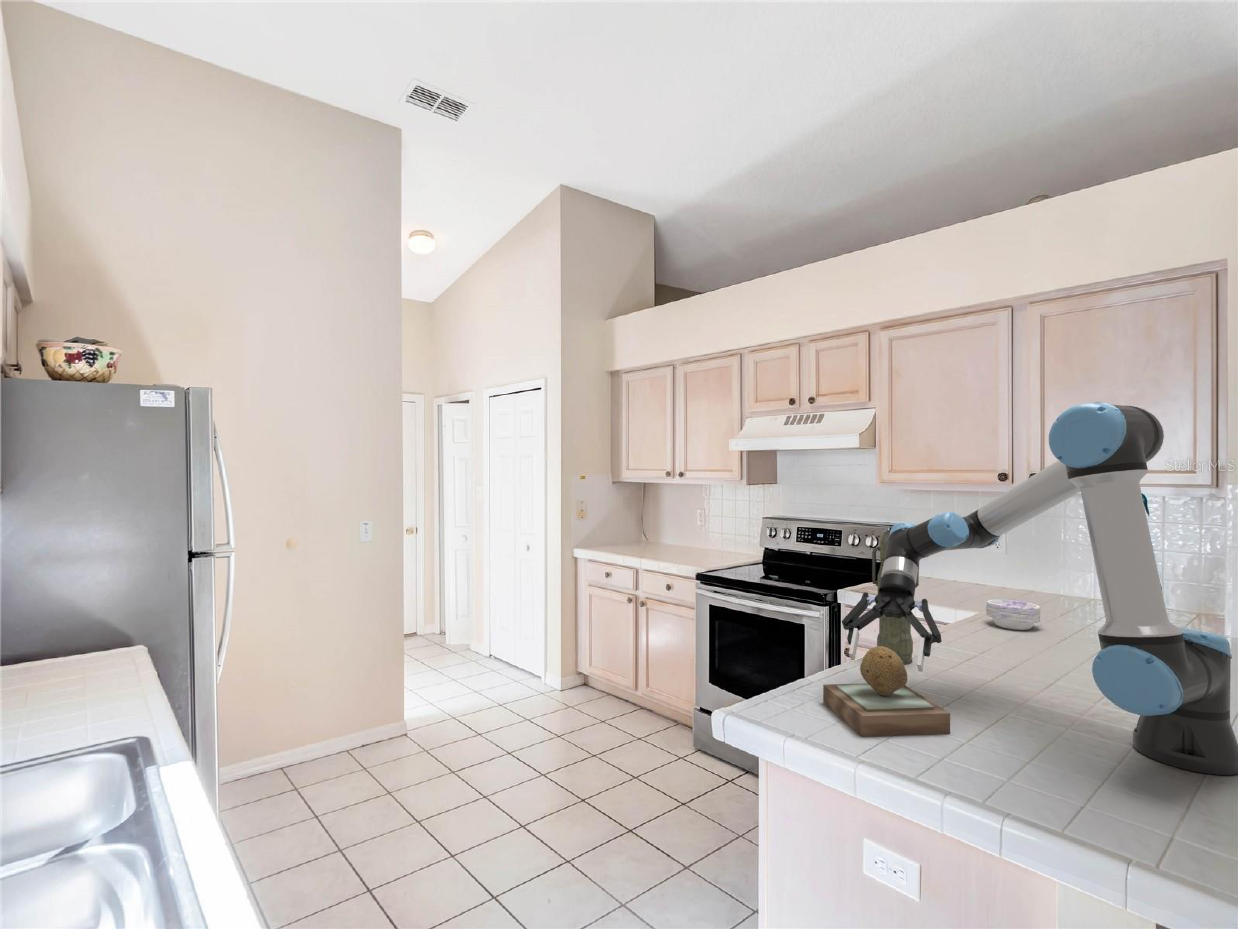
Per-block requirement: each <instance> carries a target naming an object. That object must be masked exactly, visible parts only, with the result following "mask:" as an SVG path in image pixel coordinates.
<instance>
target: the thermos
mask: <svg viewBox="0 0 1238 929" xmlns="http://www.w3.org/2000/svg"><path fill="white" fill-rule="evenodd" d="M890 530H891V529H889V530H888V529H887V530H885V531H883V532H882V536H881V538H880V540H879V541H880V542H879V546H876V547H875V548H874V549H872V553H871V572H872V573H871V574H872V575H871V577H872V578H871V579H872V580H871V581H872V585H875V586H876V587H877V592H878V591H879V586H880V580H881V575H882V570H883V565H884V559H885V554H886V548H887V539H888V537H889V534H890ZM877 551H878V552H880V553H879V554H880V555H879V559H880V564H879V570H878V573H877ZM918 566H919V567H918V573H917V580H916V584H915V585H916V587H915V589H916V588H918V587H919V586H920V584H919V583H920V582H919V581H920V580H919V578H920V577H919V576H920V564H919V565H918ZM876 576H877V577H876ZM878 620H879V622H878V625H879V626H878V628H879V629H878V634H877V637H876V647H877V646H883V647H887V648H889V649H891V650H892V651H894V652H895V653H896V654H897V655H898V656H899V657H900V658H901V660H902V662H903V664H904V666H905V665H906V664H907V665H910V664H912V663H913V652H914V641H913V636H912V631H911V630H912V629H911V628H912V625H911V624H910V623H909V622H908V621H907V620H906V619H905V617H901V619H900V618H895V617H886V616H885V615H883V616H882V617H880V618H878Z"/></svg>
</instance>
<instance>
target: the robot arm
mask: <svg viewBox="0 0 1238 929" xmlns="http://www.w3.org/2000/svg"><path fill="white" fill-rule="evenodd" d="M1164 439H1165V433H1164V429H1163V425H1162V424H1161V422H1160V420H1159V419H1158V418H1157V417H1156V416H1155V415H1154V414H1153V413H1152V412H1149V411H1148V410H1146V409H1144V408H1141V407H1138V406H1134V405H1119V404H1112V403H1111V404H1110V403H1107V402H1101V401H1096V402H1088V403H1087V402H1086V403H1080V404H1076V405H1073V406H1071V407H1069V408H1068V409H1065V410H1064V411H1063V412H1061V414H1059V415H1058V416H1057V418H1056V419H1055V420H1054V422H1053V423H1052V424H1051V427H1050V429H1049V434H1048V446H1049V449H1050V451H1051V453H1052V455H1053V456H1054V457H1055V458H1056V460H1055V462H1053V463H1051V464H1050V465H1048V466H1046V467H1044V468H1043V469H1042V470H1040V471H1038V472H1037V473H1035V474H1033V475H1032V476H1030V477H1028V478H1027V479H1025V480H1023V481H1022V482H1020V483H1019V484H1017V485H1015V486H1014V487H1012V488H1010V489H1009V490H1007V491H1006V492H1003V493H1002V494H1001V495H999V496H998V497H996V498H994V499H992V500H990V501H989V502H988V503H985V504H984V505H982V506H981V507H979V508H978V509H976V510H975V511H973V512H971V513H970V514H968V515H965V516H961V515H960V514H957V513H956V512H954V511H947V512H944V513H941V514H937V515H934V517H931V518H930V519H928V520H925V521H923V522H921V523H919V524H917V525H916V524H914V523H911V522H904V523H902V522H897V523H896V524H894V525H893V526H892V527H891V528H890V529H889V530H890V534H889V537H888V539H887V548H886V554H885V559H884V565H883V570H882V575H881V580H880V586H879V591H878V590H877V594H876V595H870V594H869V593H868V592H866V591H865V592H863V593H862V595H861V599H860V600H858V602H857V604H856V605H854V607H853V608H851V610H850V611H849V613H847V614H846V616H844V617H843V619H842V620H841V624H842V628H843V629H844V630H845V631H848V633H847V637H846V640H847V643H848V645H850V646H849V651H848V655H849V658H850V660H851V661H855V660H856V654H857V650H858V645H859V638H860V631H861V630H862V629H864V628H865V627H867V626H868V625H869V624H871V623H872V622H874V621H875V620H876V619H879V618H880V617H882V616H883V615H885V616H886V617H895V618H900V619H901V617H905V619H906V620H907V621H908V622H909V623H910V624H911V627H913V629H914V630H915V632H916V633H917V634H918V635H919V636H920V638H919V639H920V641H919V646H918V647H919V648H918V655H917V663H916V666H917V671H918V672H921V673H923V671H924V662H925V657H928V658H930V656H931V652H932V651H931V650H932V644H934V643H936V644H941V643H942V642H943V641H942V635H941V631H940V630H939V628H938V626H937V624H936V622H935V620H934V617H933V616H932V615H933V614H931V611H930V608H929V603H928V602H929V601H928V599H927V598H922V599H921V600H915V593H916V588H917V587H916V585H915V584H916V580H917V573H918V567H919V568H920V561H921V560H922V559H926V558H928V557H930V556H933V555H936V554H938V553H941V552H944V551H953V550H954V551H955V550H968V549H969V550H970V549H985V548H987V547H991V546H994V545H995V544H997V542H998V541H999V539H1000V538H1001V536H1003V535H1004V534H1007V533H1009V532H1010V531H1012V530H1013V529H1015V528H1017V527H1019V526H1021V525H1023V524H1025V523H1026V522H1028V521H1030V520H1032V519H1034V518H1035V517H1038V516H1039V515H1042V513H1045V512H1046V511H1048V510H1050V509H1052V508H1053V507H1055V506H1057V505H1059V504H1061V503H1062V502H1064V501H1066V500H1068V499H1070V498H1072V497H1073V496H1075V495H1077V494H1079V493H1081V500H1082V504H1083V505H1082V506H1083V510H1084V514H1085V518H1086V526H1087V529H1088V535H1089V541H1090V545H1091V550H1092V555H1093V561H1094V566H1095V572H1096V576H1097V582H1098V587H1099V591H1100V597H1101V603H1102V608H1103V612H1104V618H1105V622H1104V624H1103V625H1101V627H1100V628H1099V629H1098V630H1097V634H1098V640H1099V646H1100V650H1099V651H1098V653H1097V654H1096V656H1095V658H1093V662H1092V666H1091V670H1092V677H1093V680H1094V683H1095V685H1096V687H1097V688H1098V690H1099V691H1100V692H1101V694H1103V696H1104V697H1105V698H1106V699H1107V700H1109V701H1110V702H1111V703H1113V704H1114V705H1115V706H1116V707H1118V708H1119V709H1121V710H1123V711H1125V712H1128V713H1130V714H1133V715H1136V716H1139V717H1138V721H1137V724H1136V726H1135V727H1134V729H1133V731H1132V746H1133V747H1134V748H1135V750H1136V751H1138V752H1139V753H1141V754H1142V755H1144V756H1147V757H1148V758H1150V759H1153V760H1155V761H1158V762H1160V763H1163V764H1165V765H1169V766H1172V767H1175V768H1178V769H1179V768H1180V769H1182V770H1187V771H1190V772H1191V771H1192V772H1196V773H1197V772H1198V773H1202V774H1208V775H1217V776H1218V775H1219V776H1220V775H1223V776H1232V775H1238V740H1237V738H1236V737H1237V736H1236V734H1235V731H1234V729H1233V726H1232V723H1231V672H1232V671H1231V668H1232V667H1231V663H1232V662H1231V659H1232V658H1233V657H1232V656H1233V655H1232V654H1231V646H1230V645H1231V644H1230V642H1229V640H1228V639H1227V638H1225V637H1224V636H1222V635H1219V634H1216V633H1211V632H1207V631H1201V630H1196V629H1192V628H1191V629H1190V628H1185V627H1178V626H1176V625H1175V624H1173V623H1172V622H1170V620H1169V617H1168V612H1167V608H1166V604H1165V598H1164V593H1163V590H1162V584H1161V580H1160V575H1159V574H1160V573H1159V570H1158V565H1157V560H1156V555H1155V551H1154V546H1153V541H1152V538H1151V537H1152V536H1151V532H1150V526H1149V522H1148V519H1147V513H1146V509H1145V503H1144V499H1143V494H1142V490H1141V484H1140V483H1141V481H1142V479H1143V478H1144V477H1145V476H1146V475H1147V474H1148V472H1149V469H1148V465H1147V464H1148V462H1149V461H1151V460H1152V459H1153V458H1155V457H1156V455H1157V454H1158V453H1159V452H1160V451H1161V448H1162V446H1163V443H1164ZM918 565H919V566H918ZM915 587H916V588H915ZM873 603H875V604H874V605H873V606H872V608H870V609H869V610H868V611H866V610H867V609H868V607H869V606H871V605H872V604H873ZM915 608H917V610H918V611H919V612H921V613H922V615H923V618H924V619H925V623H926V624H927V626H928V628H929V631H930V632H929V631H928V630H927V629H926V627H925V626H924V625H923V624H922V623H921V622H920V620H919V619H918V618H917V617H916V616H915V615H914V613H913V612H912V611H913V610H914V609H915ZM865 611H866V612H865ZM864 612H865V613H864ZM863 613H864V614H863Z"/></svg>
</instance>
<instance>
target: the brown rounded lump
mask: <svg viewBox="0 0 1238 929" xmlns="http://www.w3.org/2000/svg"><path fill="white" fill-rule="evenodd" d="M859 670H860V671H859V672H860V674H861V677H862V678H863V680H864V681H865V683H868V684H869V685H870V686H871V687H872V688H873V689H874V690H875V691H876V692H877V693H878V694H880V695H882V696H888V695H891V694H892V693H894V692H895V691H896V690H898V689H900V688H902V687H904V686H905V685H907V683H908V672H907V670H906V667H905V665H904V664H903V662H902V660H901V658H900V657H899V656H898V655H897V654H896V653H895V652H894V651H892V650H891V649H889V648H887V647H883V646H877V645H876V646H874V647H872V648H870V649H868V651H867V652H865V654H864V656H863V658H862V660H861V663H860V667H859Z"/></svg>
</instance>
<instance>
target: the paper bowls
mask: <svg viewBox="0 0 1238 929" xmlns="http://www.w3.org/2000/svg"><path fill="white" fill-rule="evenodd" d="M985 609H986V611H985V612H986V613H985V614H986V616H988V618H991V619H992V621H993V623H994V624H995V625H996V626H997V627H1000V628H1002V629H1008V630H1013V631H1014V630H1015V631H1026V630H1031V629H1032V628H1033V627H1034V624H1035V623H1040V622H1041V606H1040V605H1038V604H1035V603H1032V602H1027V601H1022V600H1021V601H1019V600H1012V599H1011V600H1010V599H987V601H986V607H985Z"/></svg>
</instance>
